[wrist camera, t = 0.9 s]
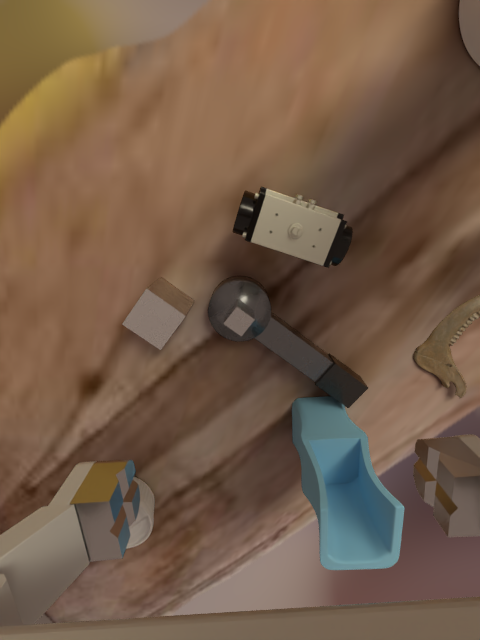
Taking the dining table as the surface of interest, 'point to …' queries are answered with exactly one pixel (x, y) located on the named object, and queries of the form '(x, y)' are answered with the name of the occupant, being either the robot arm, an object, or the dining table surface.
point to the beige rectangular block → (158, 312)
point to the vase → (344, 488)
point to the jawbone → (447, 345)
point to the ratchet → (278, 337)
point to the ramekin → (142, 516)
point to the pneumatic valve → (293, 227)
